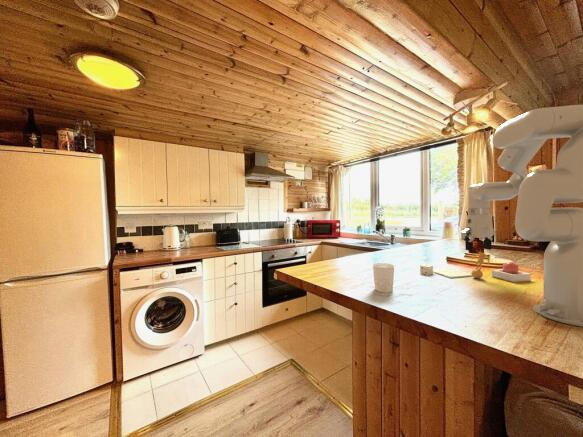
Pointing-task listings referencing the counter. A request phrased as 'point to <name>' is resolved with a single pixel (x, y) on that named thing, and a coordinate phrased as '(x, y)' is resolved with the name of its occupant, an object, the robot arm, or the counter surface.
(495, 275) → the popper box
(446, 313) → the counter surface
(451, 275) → the tile
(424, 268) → the ivory die
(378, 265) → the white cup
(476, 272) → the figurine
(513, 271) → the dome button
